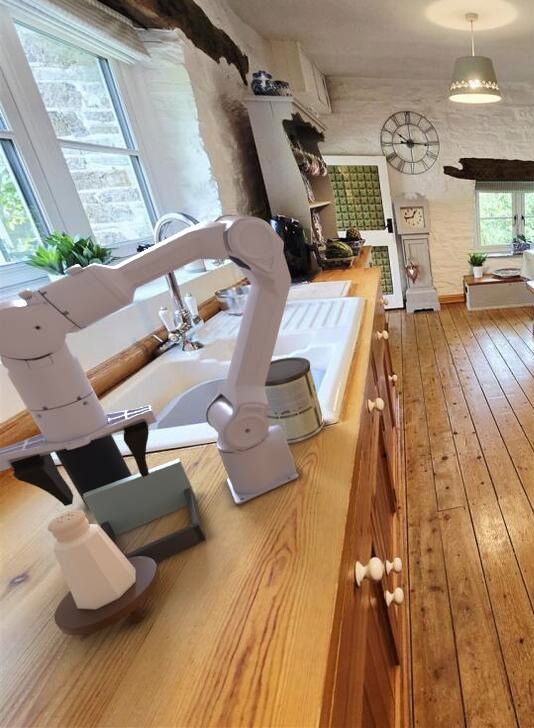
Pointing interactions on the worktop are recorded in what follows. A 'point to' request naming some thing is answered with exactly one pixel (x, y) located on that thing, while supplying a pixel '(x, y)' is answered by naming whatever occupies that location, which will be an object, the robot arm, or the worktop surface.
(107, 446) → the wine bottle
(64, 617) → the stool
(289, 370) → the coffee can
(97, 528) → the salt shaker
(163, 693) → the worktop surface
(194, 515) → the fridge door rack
